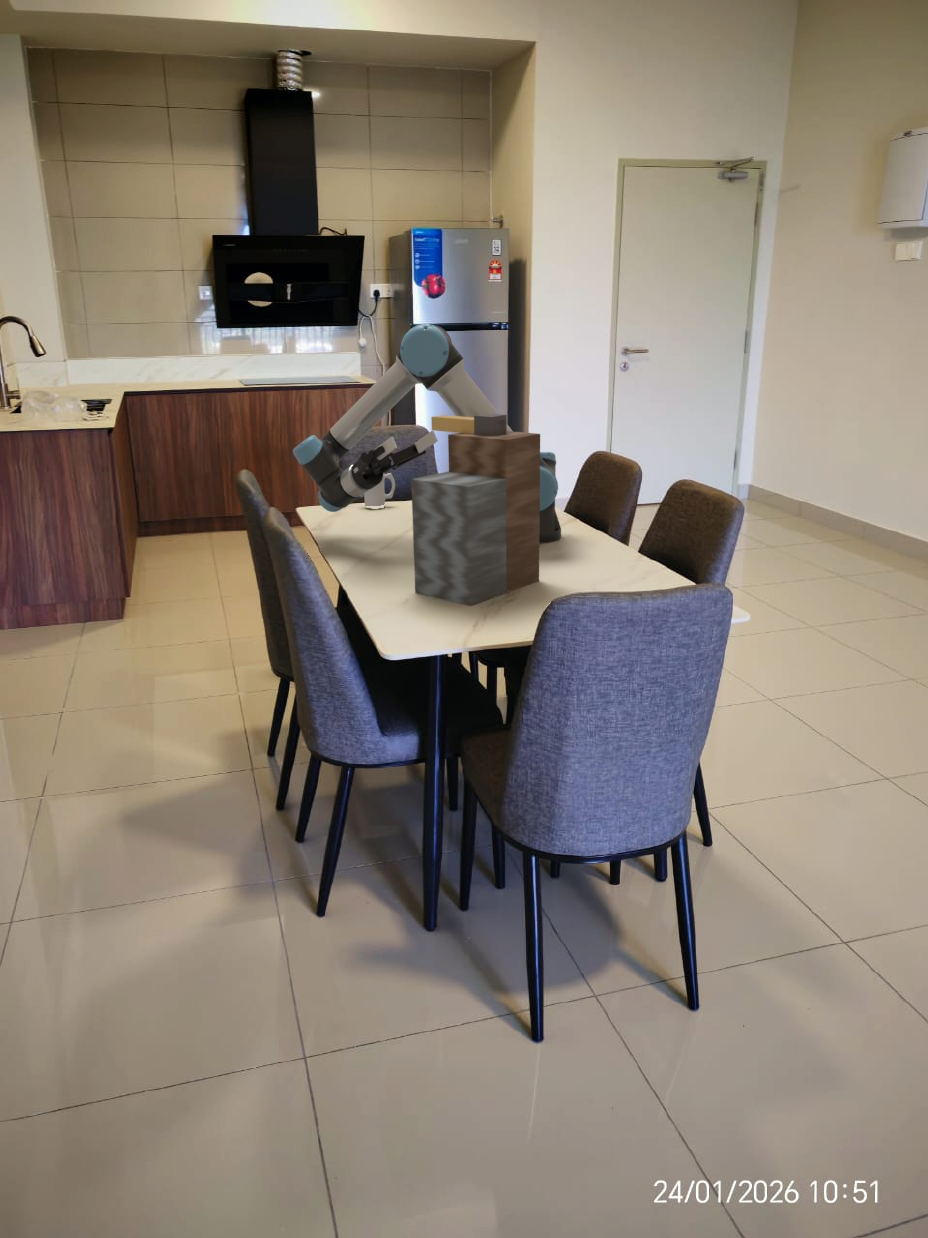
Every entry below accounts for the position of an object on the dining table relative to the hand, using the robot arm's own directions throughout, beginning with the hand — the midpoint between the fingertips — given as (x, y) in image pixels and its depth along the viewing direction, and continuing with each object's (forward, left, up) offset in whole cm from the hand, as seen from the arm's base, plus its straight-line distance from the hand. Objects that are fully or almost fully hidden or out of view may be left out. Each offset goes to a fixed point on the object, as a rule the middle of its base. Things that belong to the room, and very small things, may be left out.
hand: (414, 438), depth 215 cm
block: (+13, +8, +3) cm, 16 cm away
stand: (+23, +7, -30) cm, 39 cm away
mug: (-73, +9, -31) cm, 80 cm away
